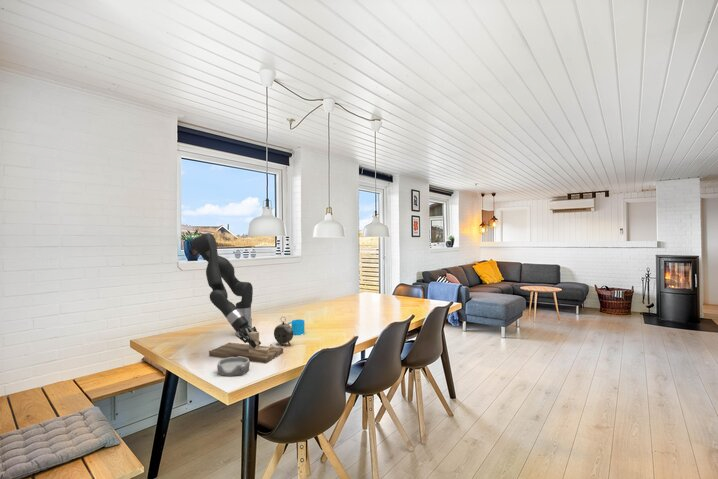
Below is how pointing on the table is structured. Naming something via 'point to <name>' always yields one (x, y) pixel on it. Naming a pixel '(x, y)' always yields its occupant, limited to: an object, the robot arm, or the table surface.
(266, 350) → the marking gauge
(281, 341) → the alarm clock
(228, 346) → the walnut board
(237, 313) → the robot arm
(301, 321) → the mug
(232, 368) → the dish
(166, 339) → the table surface
